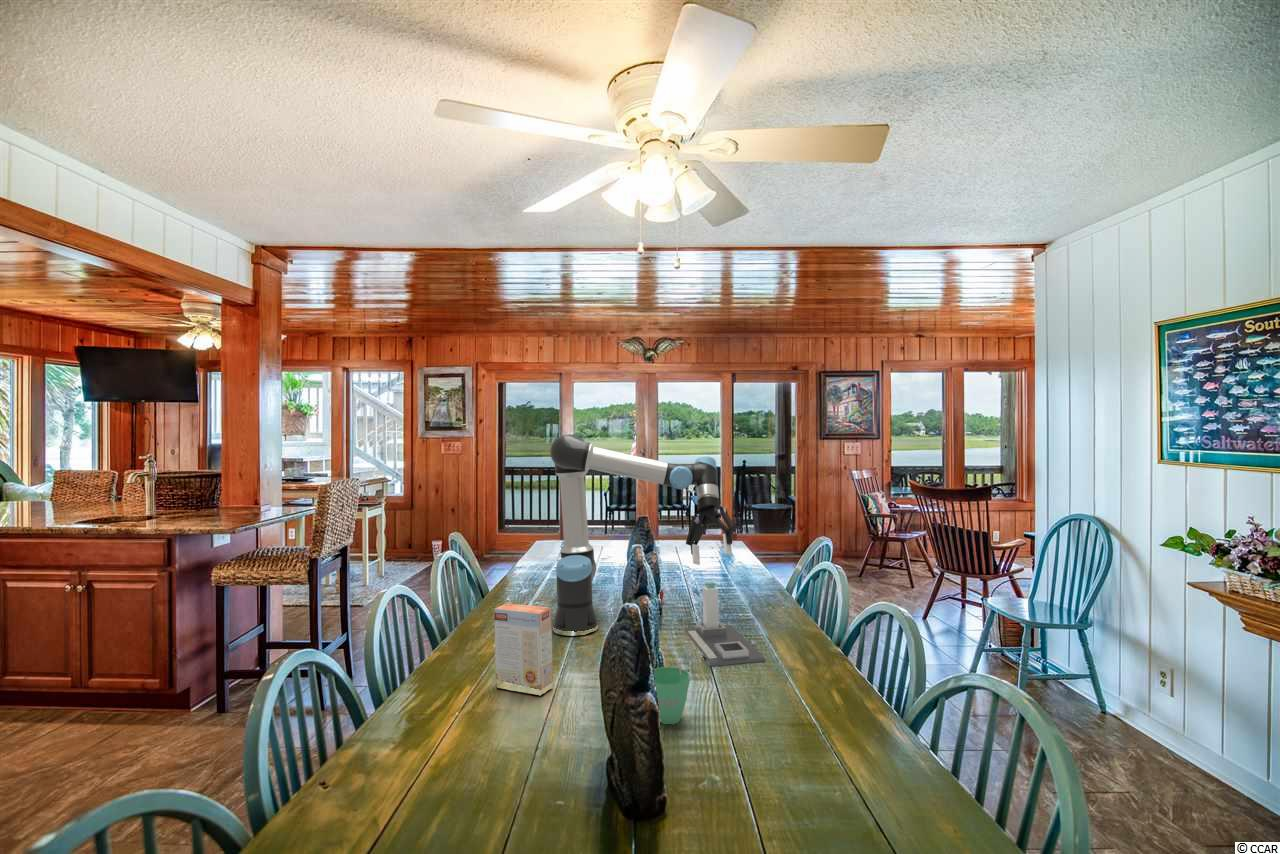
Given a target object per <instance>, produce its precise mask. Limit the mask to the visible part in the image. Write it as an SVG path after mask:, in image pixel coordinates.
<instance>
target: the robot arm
mask: <svg viewBox="0 0 1280 854" xmlns="http://www.w3.org/2000/svg"><path fill="white" fill-rule="evenodd" d="M549 455H550V458H551V460H552V462H553V463H554V472H555V473H554V474H555V475H556V476H557V477H559V483H560V499H561V510H562V511H561V512H562V514H561V515H562V526H563V527H562V528H563V541H564V546H563V547H562V548H561V549H560V559H559V560H558V561H557V563H556V568H555V573H556V574H555V575H556V601H557V602H556V604H557V605H556V610H555V611H556V612H555V615H554V617H553V621H552V625H553V627H554V628H556V629H559V630H562V631H574V632H577V631H585V630H589V629H592V628H595V627H596V626H597V625H598V626H599V620H598V618H597V614H596V612H595V609H594V605H593V580H594V578H595V576H596V571H597V563H596V560H595V553H594V547H593V545H591V544H590V542H589V541H590V540H589V528H588V527H589V526H588V514H587V512H588V511H587V499H586V497H587V496H586V483H585V482H586V481H585V477H586V475H587V473H588V472H589V470H592V471H597V472H602V473H608V474H611V475H616V476H620V477H624V478H625V477H626V478H630V479H636V480H638V481H639V480H641V481H645V482H649V483H654V484H659V485H662V486H668V487H672V488H674V489H677V490H684V489H685V490H686V489H687V488H688V487H690V486H695V487H696V497H697V498H696V499H697V503H696V504H697V511H698V513H699V514H698V516H692V517H691V524H690V527H689V531H688V534H687V538H686V540H685V545H686V546H687V545H688V546H690V553H691V555H692V564H694V565H697V566H699V565H701V559H700V545H698V544H699V541H700V540H701V538H702V535H703V534H704V532H705V530H707V528H709V527H711V526H714V525H717V526H718V527H719V528H720V529H721V531H723V534H722V541H723V549H724V550H723V552H724V554H725V555H727V556H733V554H732V545H733V536H732V535H733V533H735V532H737V527H736V526H735V524H734V522H733V521H732V519H731V517H730V515H729V513H728V509H727V508H726V507H724V506H720V499H719V497H720V496H719V495H720V494H719V483H718V481H719V480H718V468H717V463H716V462H717V461H716V459H715V458H713V457H712V456H706V455H703V456H699V457H698V458H696V459H695V461H694V463H670V462H667V461H661V460H658V459H657V460H656V459H652V458H648V457H642V456H638V455H634V454H628V453H625V452H620V451H616V450H611V449H607V448H602V447H597V446H595V445H594V444H593V443H592V442H588V441H585V440H584V438H582V437H581V436H579V435H577V434H572V433H569V434H564V435H560V436H558V437H557V438H555V439H554V440H553V442H552V444H551V446H550V453H549ZM720 516H721V518H722V519H723V521H724V522H723V521H722V520H721V519H720Z"/></svg>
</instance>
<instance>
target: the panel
mask: <svg viewBox="0 0 1280 854" xmlns="http://www.w3.org/2000/svg"><path fill="white" fill-rule="evenodd" d="M683 631H684V632H685V633H686V634H687V636H688V637H689V638H690V639H691V641H692V642H693V644H694V645H695V646H696V648H698V650H699V651H700V653H701V654H702V655H703V656H702V658H704V659H703V660H704V661H705V662H706V664H707V665H708V667H719V666H720V667H721V666H730V665H731V666H732V665H740V664H750V663H751V664H752V663H760V662H762V663H763V662H766V661H765V660H766V659H765V657H764V656H763V654H762V653H760V652H759V651H758V650H757V649H756V648H755V647H754V646H753V645H752V644H751V643H750V642H749V641H748V640H747V639H746V638H745V637H744V636H743V635H742V634H741V633H740V632H739V631H737V629H735V628H734V626H732V624H725V625H724V624H723V623H722V622H721V621H720V620H719V628H709V629H705V628H704V627H703V621H702V622H701V621H700V622H696V627H688V628H683Z"/></svg>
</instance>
